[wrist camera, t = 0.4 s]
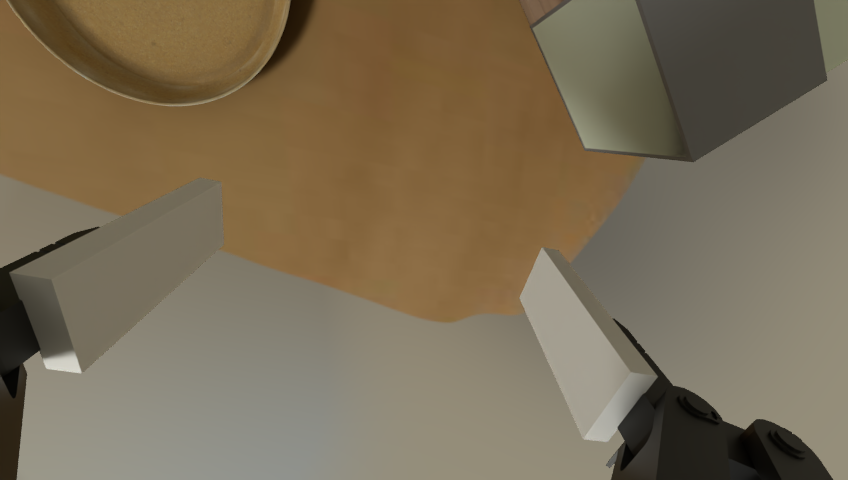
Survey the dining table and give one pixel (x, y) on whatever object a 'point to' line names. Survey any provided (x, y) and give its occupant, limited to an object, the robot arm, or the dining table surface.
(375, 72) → the dining table surface
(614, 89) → the bar
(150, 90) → the plant saucer
